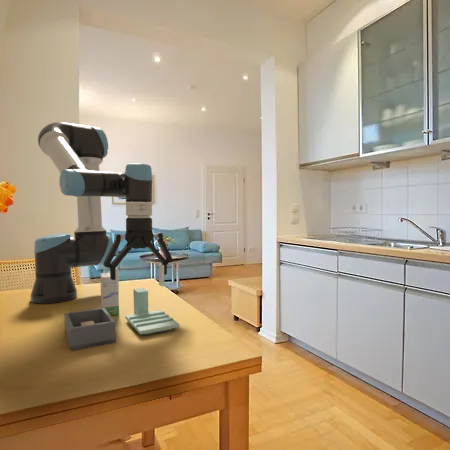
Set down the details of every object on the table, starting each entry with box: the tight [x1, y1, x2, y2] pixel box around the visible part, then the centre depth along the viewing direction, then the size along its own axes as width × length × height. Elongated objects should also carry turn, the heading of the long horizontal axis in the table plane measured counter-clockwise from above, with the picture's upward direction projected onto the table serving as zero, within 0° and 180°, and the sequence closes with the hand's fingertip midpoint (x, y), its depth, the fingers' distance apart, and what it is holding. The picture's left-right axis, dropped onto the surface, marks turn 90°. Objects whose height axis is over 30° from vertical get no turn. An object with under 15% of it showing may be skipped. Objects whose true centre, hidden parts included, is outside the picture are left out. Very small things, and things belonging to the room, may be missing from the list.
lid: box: [124, 287, 180, 335], centre depth 97 cm, size 10×20×8 cm, turn 30°
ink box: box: [100, 272, 120, 316], centre depth 109 cm, size 8×5×12 cm, turn 23°
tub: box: [64, 307, 117, 351], centre depth 87 cm, size 10×14×5 cm
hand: (139, 288), depth 104 cm, fingers open, 13 cm apart
